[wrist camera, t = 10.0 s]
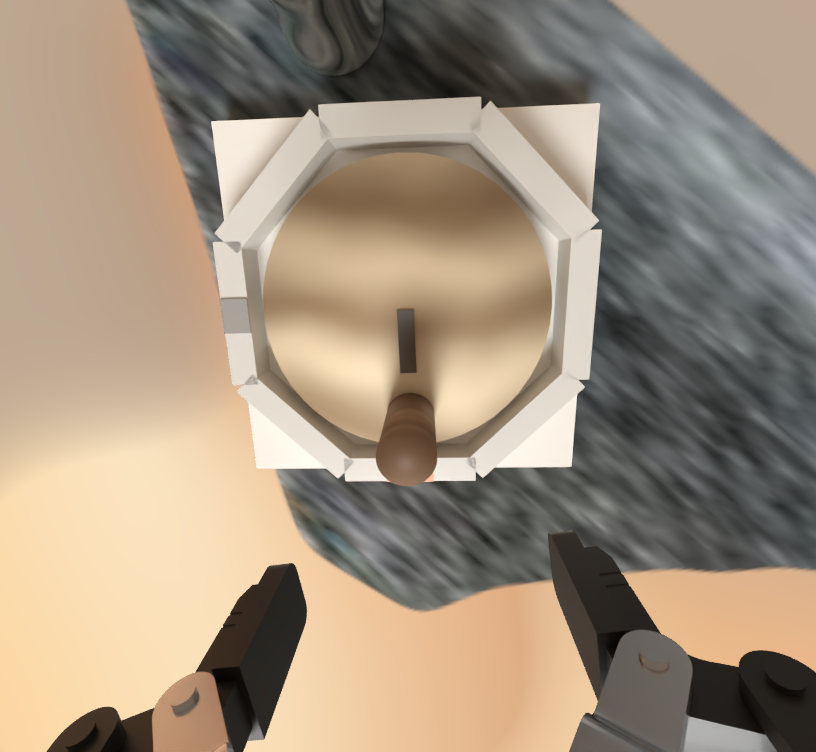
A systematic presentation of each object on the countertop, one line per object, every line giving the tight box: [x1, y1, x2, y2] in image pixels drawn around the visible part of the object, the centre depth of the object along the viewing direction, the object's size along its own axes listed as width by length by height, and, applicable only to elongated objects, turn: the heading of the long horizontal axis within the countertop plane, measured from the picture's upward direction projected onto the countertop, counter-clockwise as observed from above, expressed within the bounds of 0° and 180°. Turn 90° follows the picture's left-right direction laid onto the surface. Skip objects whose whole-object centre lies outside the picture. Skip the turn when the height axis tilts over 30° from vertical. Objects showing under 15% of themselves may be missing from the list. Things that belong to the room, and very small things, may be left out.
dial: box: [263, 152, 552, 486], centre depth 22 cm, size 17×17×8 cm
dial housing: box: [211, 97, 602, 482], centre depth 25 cm, size 22×22×4 cm
